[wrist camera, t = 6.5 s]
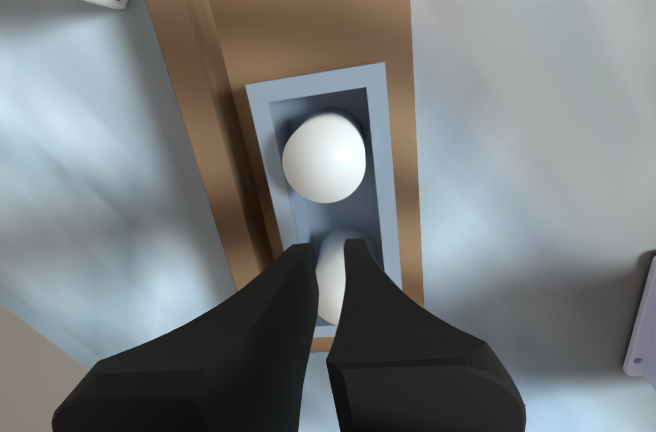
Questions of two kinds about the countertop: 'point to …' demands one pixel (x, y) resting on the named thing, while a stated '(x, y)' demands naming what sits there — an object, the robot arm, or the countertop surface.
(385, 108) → the tray
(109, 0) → the syrup box
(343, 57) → the shelf
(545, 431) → the countertop surface
